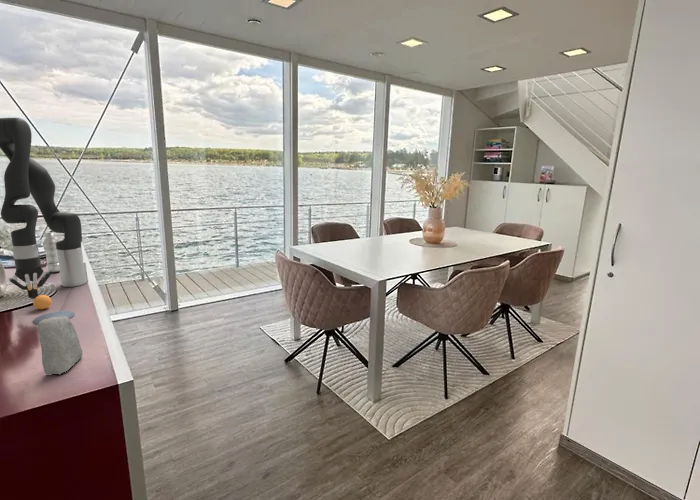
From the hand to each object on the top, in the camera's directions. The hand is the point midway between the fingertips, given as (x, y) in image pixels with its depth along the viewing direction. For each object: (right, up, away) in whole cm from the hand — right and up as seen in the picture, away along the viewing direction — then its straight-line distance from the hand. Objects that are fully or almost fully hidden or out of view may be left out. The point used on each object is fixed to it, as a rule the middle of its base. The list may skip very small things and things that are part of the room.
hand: (33, 298), depth 148 cm
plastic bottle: (-25, +8, +42) cm, 49 cm away
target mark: (+18, -6, -12) cm, 23 cm away
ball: (+8, -1, -5) cm, 10 cm away
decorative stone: (+46, -14, -43) cm, 65 cm away
